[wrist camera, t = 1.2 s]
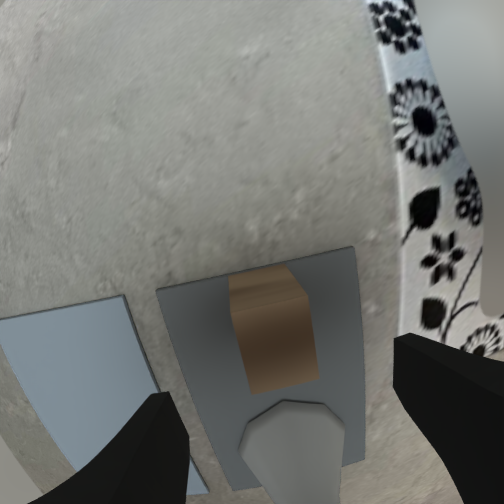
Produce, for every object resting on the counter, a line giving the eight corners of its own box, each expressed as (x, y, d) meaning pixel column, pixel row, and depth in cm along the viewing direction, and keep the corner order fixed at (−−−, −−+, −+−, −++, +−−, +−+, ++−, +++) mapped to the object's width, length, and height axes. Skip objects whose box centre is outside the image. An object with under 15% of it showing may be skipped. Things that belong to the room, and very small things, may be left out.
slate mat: (208, 489, 21) (208, 493, 21) (96, 491, 21) (95, 494, 20) (124, 294, 17) (122, 296, 17) (-6, 320, 17) (-9, 322, 16)
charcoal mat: (363, 456, 22) (385, 501, 16) (232, 487, 21) (236, 538, 16) (351, 245, 18) (398, 271, 12) (156, 289, 17) (132, 331, 12)
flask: (360, 416, 20) (418, 520, 10) (300, 475, 21) (328, 576, 11) (278, 383, 19) (317, 517, 9) (220, 451, 20) (224, 571, 10)
